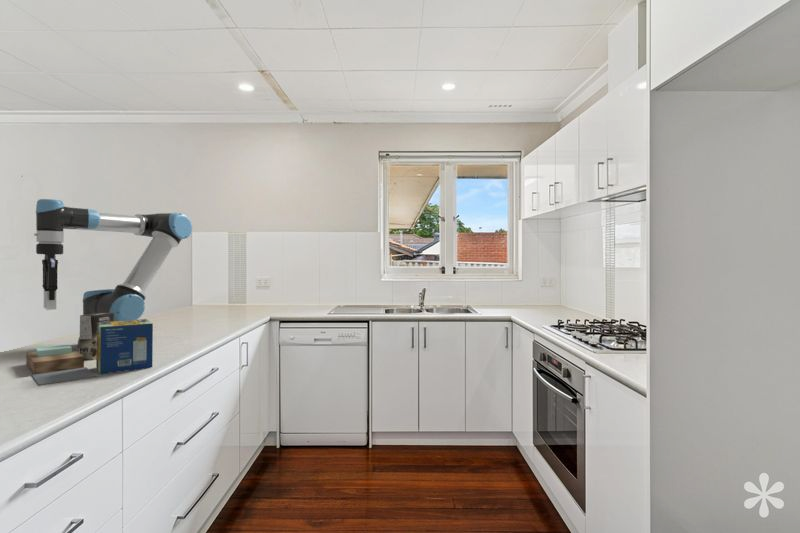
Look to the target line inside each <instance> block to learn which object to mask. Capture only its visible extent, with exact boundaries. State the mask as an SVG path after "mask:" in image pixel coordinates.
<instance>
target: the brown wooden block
mask: <svg viewBox="0 0 800 533" xmlns="http://www.w3.org/2000/svg"><path fill="white" fill-rule="evenodd" d="M25 356H26V357H25V359H26V362H25V365H26V366H27V367H28V369H29V370H30V372H31V373H32V375H34V374H41V373H48V372H55V371H62V370H69V369H76V368H83V367H85V359H84V356H83V355H82V354H80V353H79V351H78V350H77V349H76V348H74V347H72V353H68V354H60V355H51V356H43V357H38V356H37V355H36V351H31V352H30V351H29V352H25Z"/></svg>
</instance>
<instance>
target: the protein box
mask: <svg viewBox="0 0 800 533" xmlns="http://www.w3.org/2000/svg"><path fill="white" fill-rule="evenodd" d="M96 324H97V349H96V359H95V361H96V365H95V366H96V369H97V372H98V373H99V375H104V374H103V373H106V374H110V373H109V372H113V373H118V372H117V371H121V372H126V371H125V370H129V371H135V370H134V369H137V370H143V369H142V368H144V369H151V368H150V367H152V368H153V351H154V350H153V345H154V344H153V343H154V342H153V338H154V336H153V335H154V334H153V332H154V329H153V328H154V325H153V322H151V321H149V320H148V319H147V318H144V319H143V318H141V319H137V320H128V321H114V322H99V323H96Z"/></svg>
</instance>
